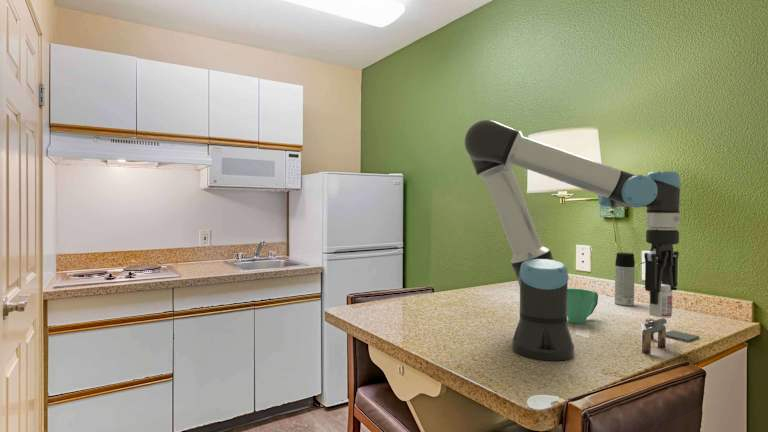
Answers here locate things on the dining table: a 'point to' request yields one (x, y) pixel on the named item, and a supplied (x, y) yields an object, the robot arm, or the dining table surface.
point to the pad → (681, 336)
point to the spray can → (624, 279)
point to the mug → (580, 304)
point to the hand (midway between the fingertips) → (660, 314)
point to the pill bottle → (666, 301)
